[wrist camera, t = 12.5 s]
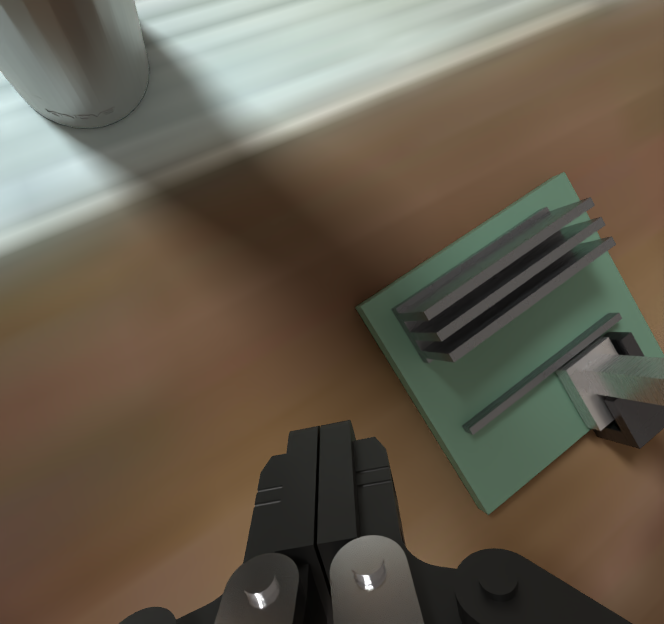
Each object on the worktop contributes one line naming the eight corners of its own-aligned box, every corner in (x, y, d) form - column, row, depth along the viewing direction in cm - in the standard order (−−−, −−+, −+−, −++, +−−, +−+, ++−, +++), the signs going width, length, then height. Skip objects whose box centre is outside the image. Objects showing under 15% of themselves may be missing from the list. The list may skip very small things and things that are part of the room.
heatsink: (507, 512, 42) (565, 548, 35) (384, 309, 39) (420, 306, 33) (642, 398, 45) (718, 411, 38) (536, 207, 43) (596, 185, 36)
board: (478, 508, 41) (488, 515, 39) (355, 307, 39) (360, 306, 37) (654, 362, 46) (668, 363, 44) (552, 177, 44) (564, 171, 42)
